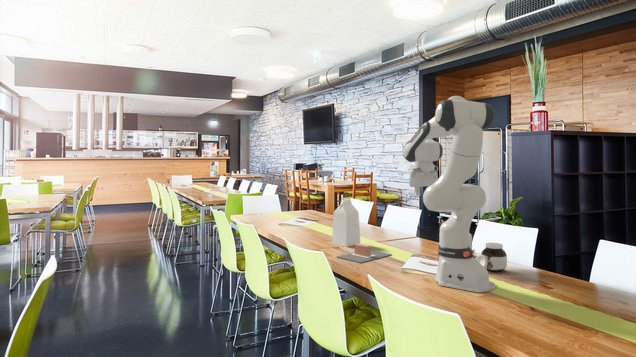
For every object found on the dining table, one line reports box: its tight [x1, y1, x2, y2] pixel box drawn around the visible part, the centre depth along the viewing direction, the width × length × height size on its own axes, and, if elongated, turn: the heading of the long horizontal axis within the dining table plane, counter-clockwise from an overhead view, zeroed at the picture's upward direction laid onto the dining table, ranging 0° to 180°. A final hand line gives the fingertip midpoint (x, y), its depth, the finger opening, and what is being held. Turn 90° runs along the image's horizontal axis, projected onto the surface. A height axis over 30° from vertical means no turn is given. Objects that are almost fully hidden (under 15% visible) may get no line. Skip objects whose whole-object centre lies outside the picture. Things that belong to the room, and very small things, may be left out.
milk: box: [331, 198, 361, 247], centre depth 233 cm, size 12×12×26 cm
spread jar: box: [474, 242, 508, 273], centre depth 175 cm, size 12×11×12 cm
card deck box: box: [354, 242, 372, 257], centre depth 203 cm, size 4×5×8 cm
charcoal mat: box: [336, 249, 393, 264], centre depth 202 cm, size 16×24×1 cm, turn 133°
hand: (423, 195), depth 201 cm, fingers open, 8 cm apart
